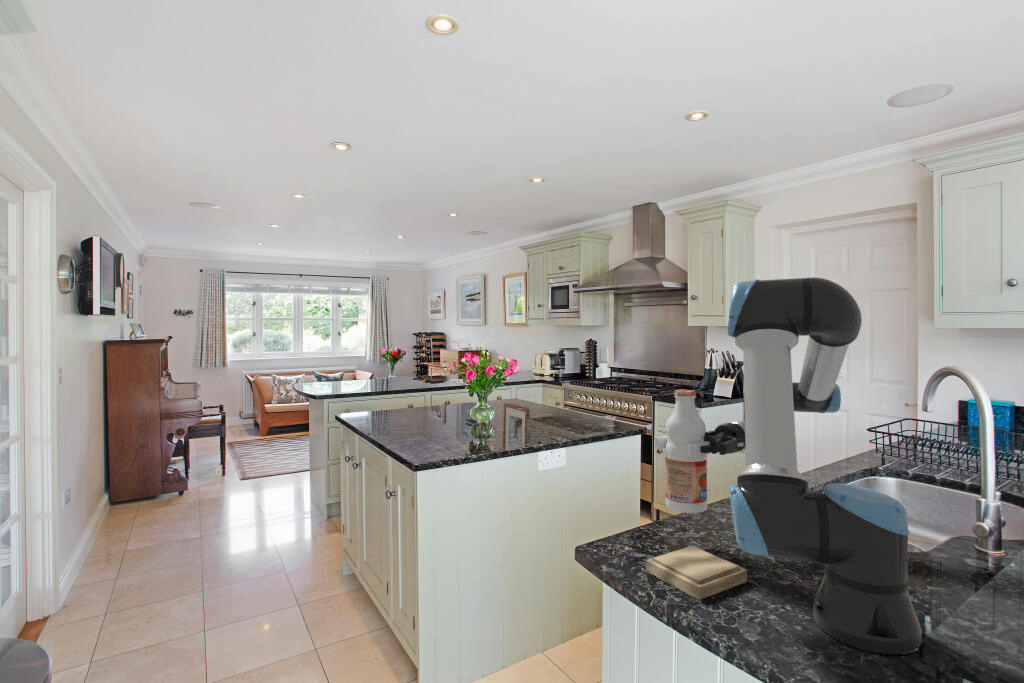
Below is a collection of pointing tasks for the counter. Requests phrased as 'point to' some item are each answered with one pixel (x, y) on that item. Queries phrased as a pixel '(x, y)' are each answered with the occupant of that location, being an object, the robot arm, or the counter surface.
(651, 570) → the board
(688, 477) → the fruit juice
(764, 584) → the counter surface
